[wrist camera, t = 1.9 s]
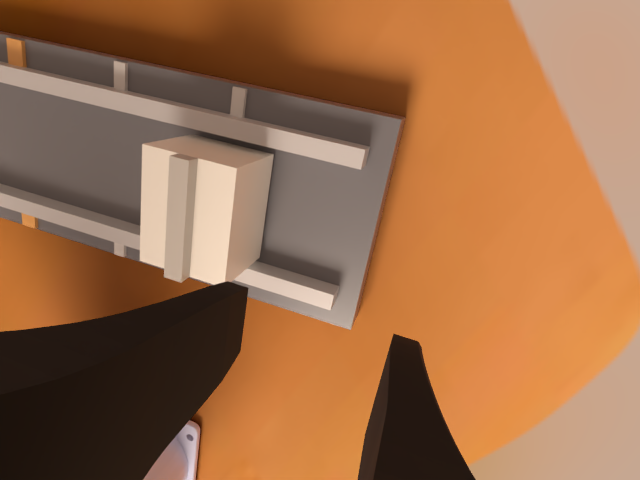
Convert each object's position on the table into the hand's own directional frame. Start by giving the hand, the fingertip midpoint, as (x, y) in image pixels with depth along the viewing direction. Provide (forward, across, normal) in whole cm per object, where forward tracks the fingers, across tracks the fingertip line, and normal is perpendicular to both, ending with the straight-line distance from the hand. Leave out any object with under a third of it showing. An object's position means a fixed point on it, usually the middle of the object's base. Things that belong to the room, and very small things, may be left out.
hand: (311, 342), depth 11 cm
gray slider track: (+10, +13, 0) cm, 17 cm away
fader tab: (+9, +7, 0) cm, 11 cm away
